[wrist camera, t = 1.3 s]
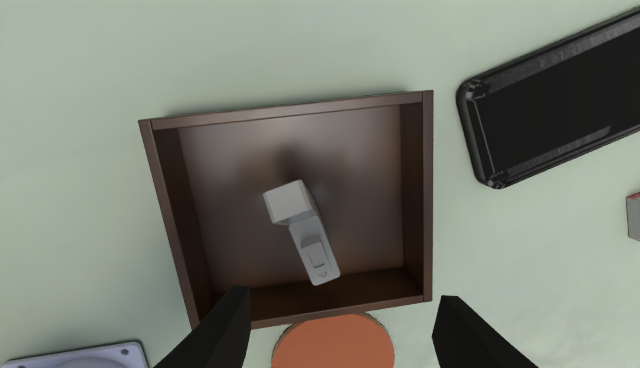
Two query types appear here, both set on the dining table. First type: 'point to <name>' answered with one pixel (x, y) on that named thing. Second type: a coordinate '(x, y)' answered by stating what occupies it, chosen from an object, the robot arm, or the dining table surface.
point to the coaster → (335, 344)
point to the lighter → (304, 229)
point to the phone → (554, 103)
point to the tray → (321, 180)
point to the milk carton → (634, 216)
